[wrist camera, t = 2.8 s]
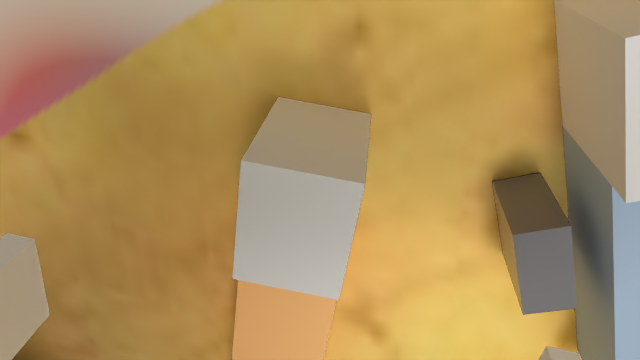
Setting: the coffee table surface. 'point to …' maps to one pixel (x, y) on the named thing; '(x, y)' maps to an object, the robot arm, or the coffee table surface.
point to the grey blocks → (535, 244)
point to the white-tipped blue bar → (602, 169)
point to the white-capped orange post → (296, 227)
